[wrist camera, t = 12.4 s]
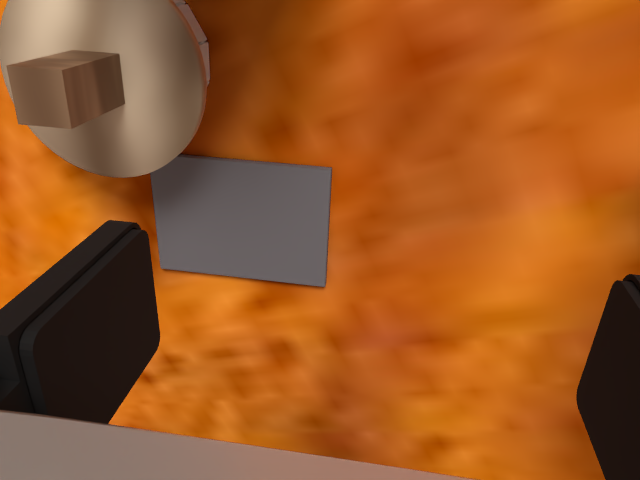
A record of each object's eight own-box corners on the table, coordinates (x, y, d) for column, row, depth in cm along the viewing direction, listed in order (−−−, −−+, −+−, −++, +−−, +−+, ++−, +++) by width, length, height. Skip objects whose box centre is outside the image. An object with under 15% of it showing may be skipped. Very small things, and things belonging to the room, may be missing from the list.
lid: (201, -36, 30) (147, -38, 24) (211, 181, 36) (170, 225, 30) (-12, -48, 32) (-115, -53, 25) (31, 163, 37) (-43, 201, 31)
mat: (332, 167, 40) (331, 170, 39) (326, 283, 44) (325, 286, 44) (151, 151, 41) (148, 154, 41) (163, 264, 46) (160, 268, 45)
